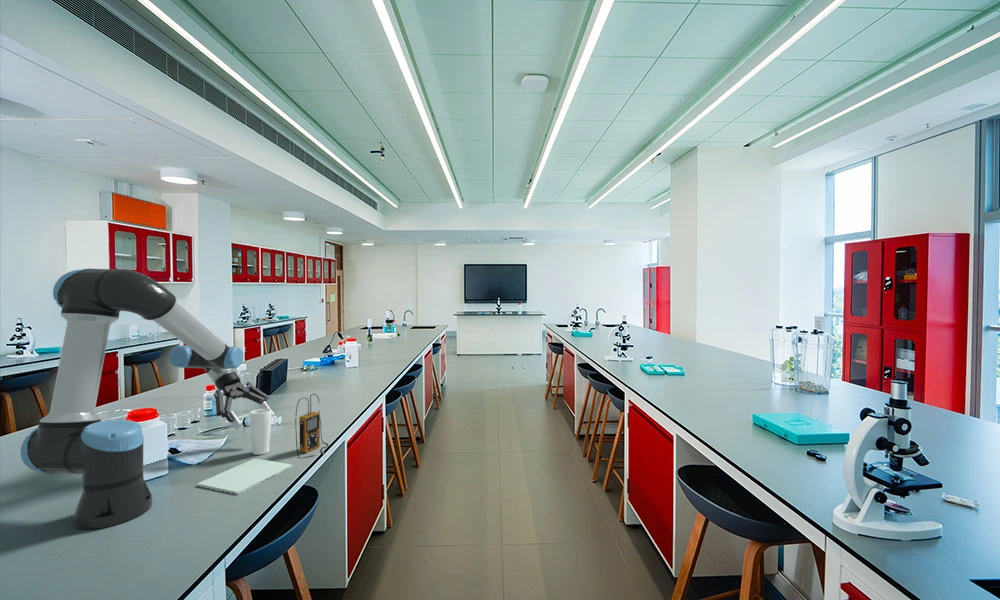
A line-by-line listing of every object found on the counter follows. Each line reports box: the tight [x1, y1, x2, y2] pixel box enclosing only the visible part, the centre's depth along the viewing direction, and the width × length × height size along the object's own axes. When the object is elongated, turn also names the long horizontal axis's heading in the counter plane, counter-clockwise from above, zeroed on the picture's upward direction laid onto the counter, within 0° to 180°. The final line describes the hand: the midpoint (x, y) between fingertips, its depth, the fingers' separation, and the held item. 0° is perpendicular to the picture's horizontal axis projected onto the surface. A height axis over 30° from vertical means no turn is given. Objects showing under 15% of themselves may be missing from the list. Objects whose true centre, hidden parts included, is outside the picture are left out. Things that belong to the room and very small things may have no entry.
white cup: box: [249, 408, 272, 456], centre depth 152 cm, size 7×7×15 cm
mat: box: [196, 458, 293, 495], centre depth 133 cm, size 20×16×1 cm
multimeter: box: [295, 393, 329, 459], centre depth 154 cm, size 15×10×20 cm
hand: (256, 422), depth 154 cm, fingers open, 13 cm apart
